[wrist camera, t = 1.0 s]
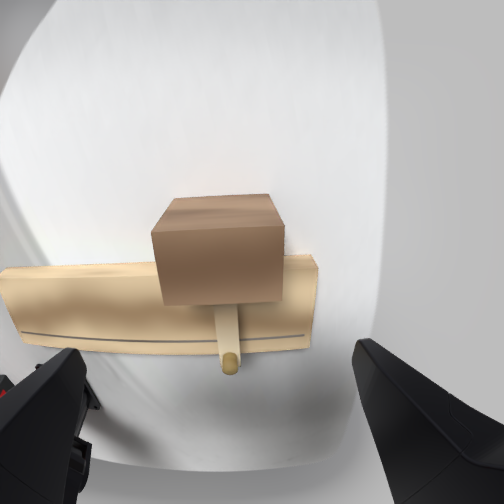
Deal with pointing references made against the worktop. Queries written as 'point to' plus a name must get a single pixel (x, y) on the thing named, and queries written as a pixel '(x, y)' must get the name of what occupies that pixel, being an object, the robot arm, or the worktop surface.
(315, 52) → the worktop surface
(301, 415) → the worktop surface
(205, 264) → the brown block with rod
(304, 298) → the board
